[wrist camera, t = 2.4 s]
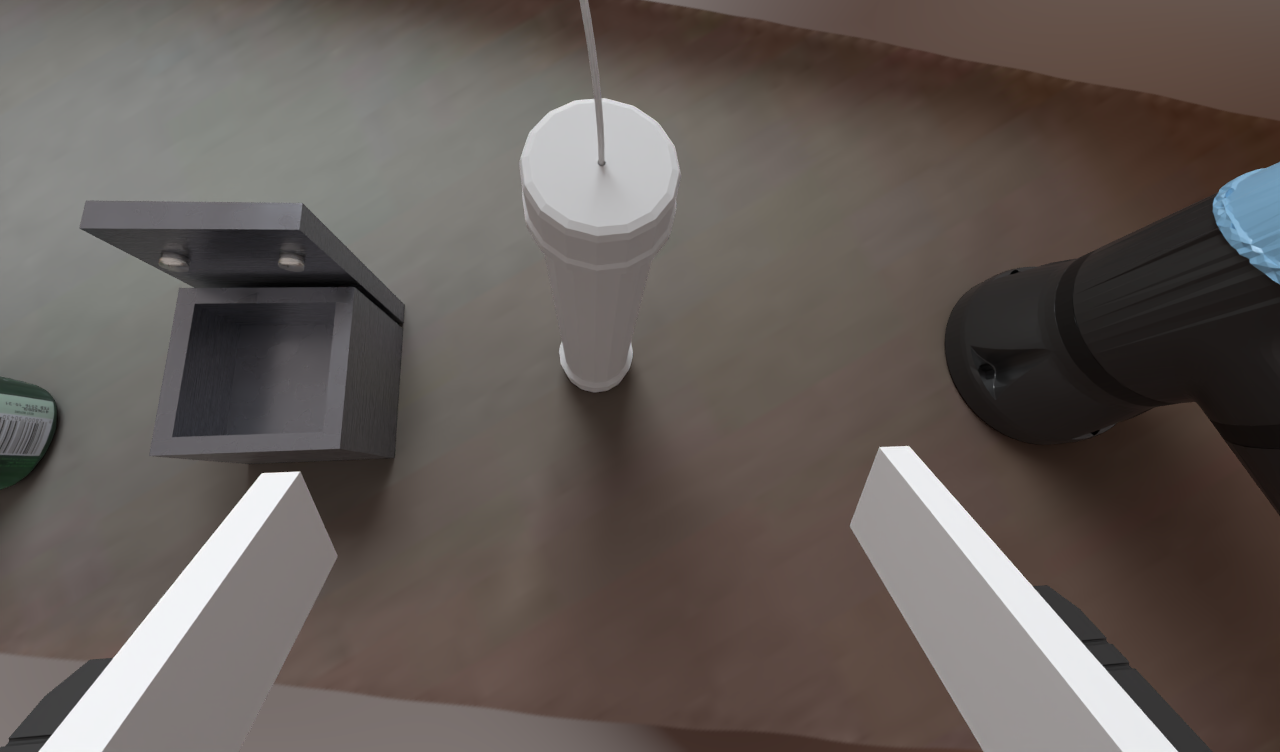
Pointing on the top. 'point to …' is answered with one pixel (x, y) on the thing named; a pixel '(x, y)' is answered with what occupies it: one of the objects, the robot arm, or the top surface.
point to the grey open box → (264, 333)
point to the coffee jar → (23, 428)
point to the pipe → (598, 221)
